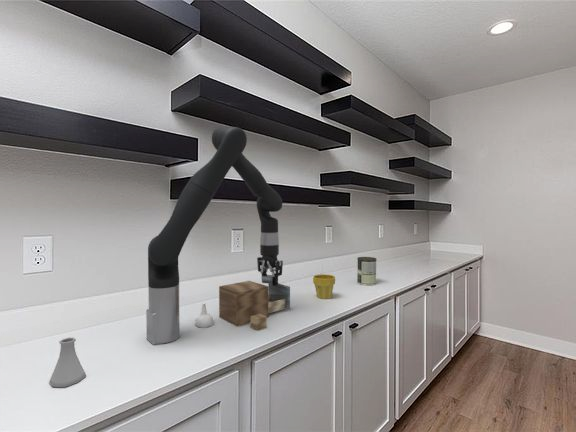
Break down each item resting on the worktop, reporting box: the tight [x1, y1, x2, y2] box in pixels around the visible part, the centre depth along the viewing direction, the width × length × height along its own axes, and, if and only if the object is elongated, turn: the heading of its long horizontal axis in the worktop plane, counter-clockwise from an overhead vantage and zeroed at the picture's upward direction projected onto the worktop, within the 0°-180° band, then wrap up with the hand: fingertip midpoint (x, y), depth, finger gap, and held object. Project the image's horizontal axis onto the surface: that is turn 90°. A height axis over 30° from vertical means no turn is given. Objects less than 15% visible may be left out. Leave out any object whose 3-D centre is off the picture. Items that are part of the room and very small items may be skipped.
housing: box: [218, 280, 269, 327], centre depth 122 cm, size 14×12×12 cm
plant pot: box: [312, 273, 336, 300], centre depth 150 cm, size 10×10×10 cm
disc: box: [261, 274, 273, 284], centre depth 130 cm, size 6×6×2 cm
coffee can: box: [356, 256, 377, 287], centre depth 177 cm, size 10×10×14 cm
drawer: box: [267, 282, 291, 314], centre depth 130 cm, size 15×12×9 cm
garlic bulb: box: [194, 303, 214, 328], centre depth 115 cm, size 6×6×8 cm
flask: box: [49, 336, 87, 388], centre depth 78 cm, size 7×7×10 cm
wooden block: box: [250, 314, 268, 332], centre depth 112 cm, size 4×4×4 cm
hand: (269, 284), depth 130 cm, fingers closed on disc, 6 cm apart
